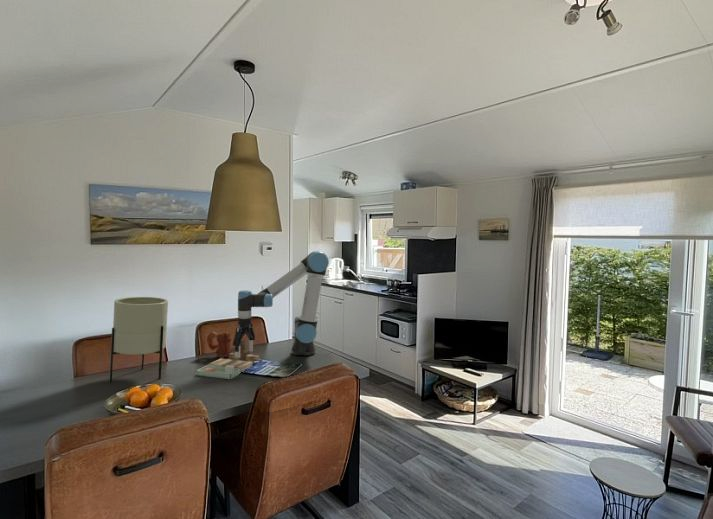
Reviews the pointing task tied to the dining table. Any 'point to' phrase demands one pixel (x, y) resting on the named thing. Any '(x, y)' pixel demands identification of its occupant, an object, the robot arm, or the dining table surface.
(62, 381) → the dining table surface
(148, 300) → the planter
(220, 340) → the reddish brown curved figurine
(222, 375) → the tray
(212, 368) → the tile
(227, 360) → the board
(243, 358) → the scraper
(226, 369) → the tile
